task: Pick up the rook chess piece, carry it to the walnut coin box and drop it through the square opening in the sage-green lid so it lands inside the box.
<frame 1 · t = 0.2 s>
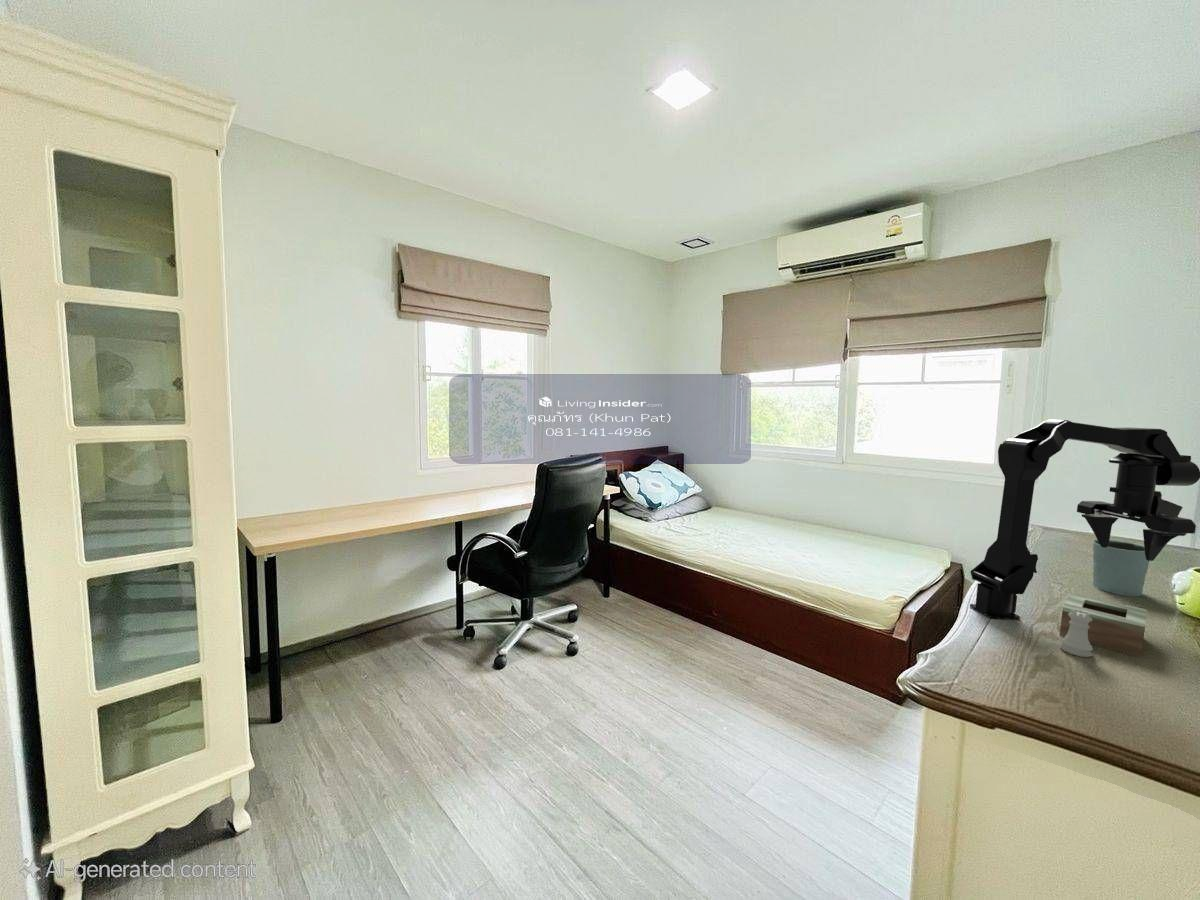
hand: (1125, 553, 104), 14 cm above the table, fingers open, 9 cm apart
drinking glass: (1115, 590, 120), on the table
rook chess piece: (1075, 653, 89), on the table
coin box: (1100, 636, 95), on the table
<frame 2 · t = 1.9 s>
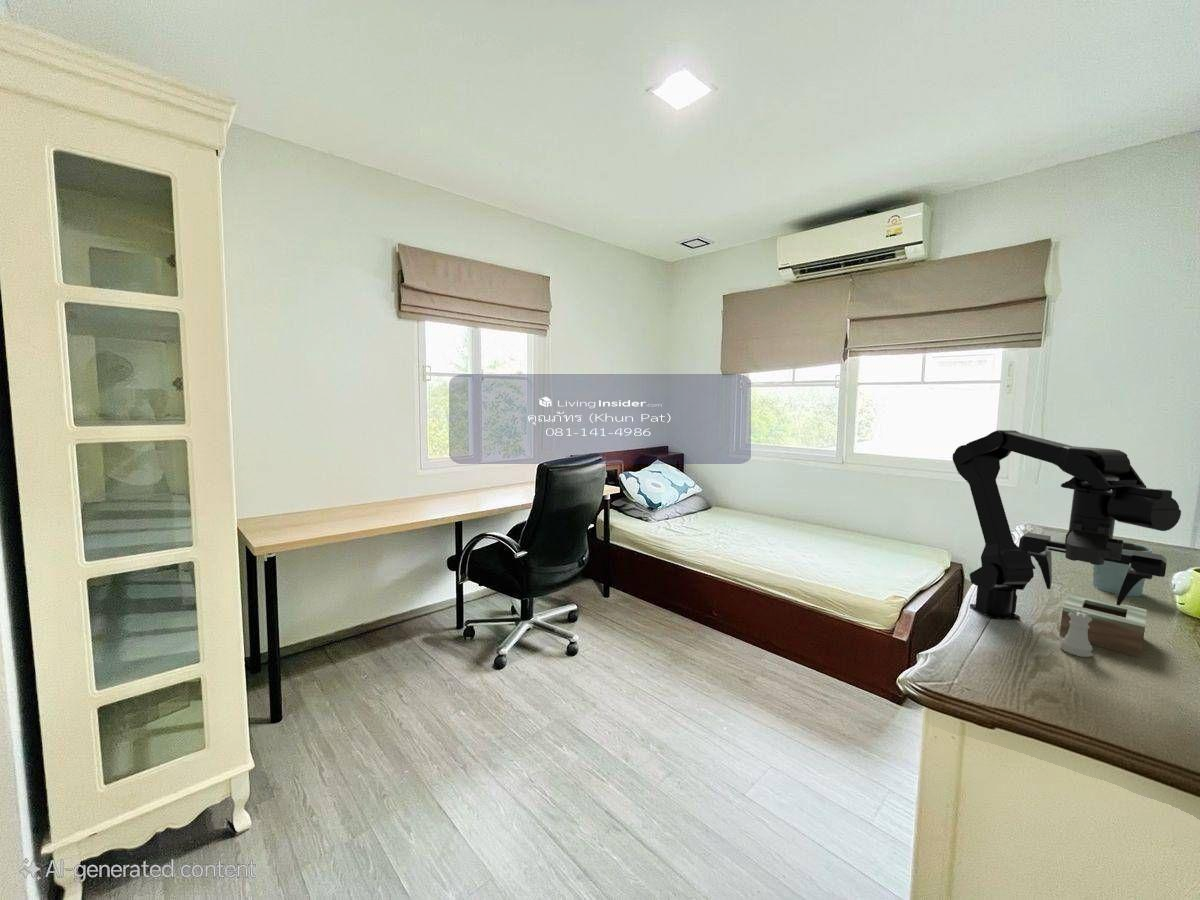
hand: (1082, 596, 88), 11 cm above the table, fingers open, 9 cm apart
nothing on the table moved.
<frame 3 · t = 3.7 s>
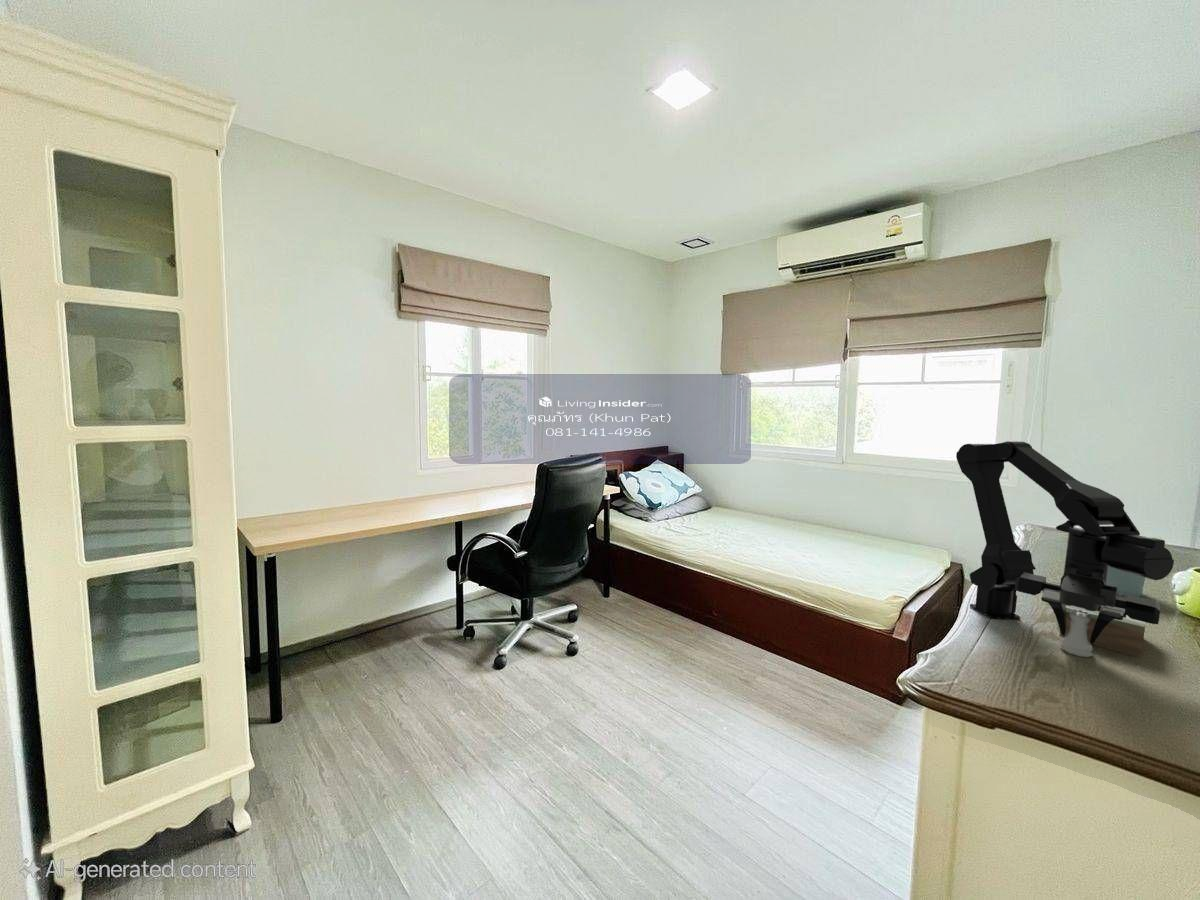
hand: (1077, 638, 89), 3 cm above the table, fingers closed on rook chess piece, 3 cm apart
rook chess piece: (1075, 652, 89), on the table, touching gripper
everything else where it was.
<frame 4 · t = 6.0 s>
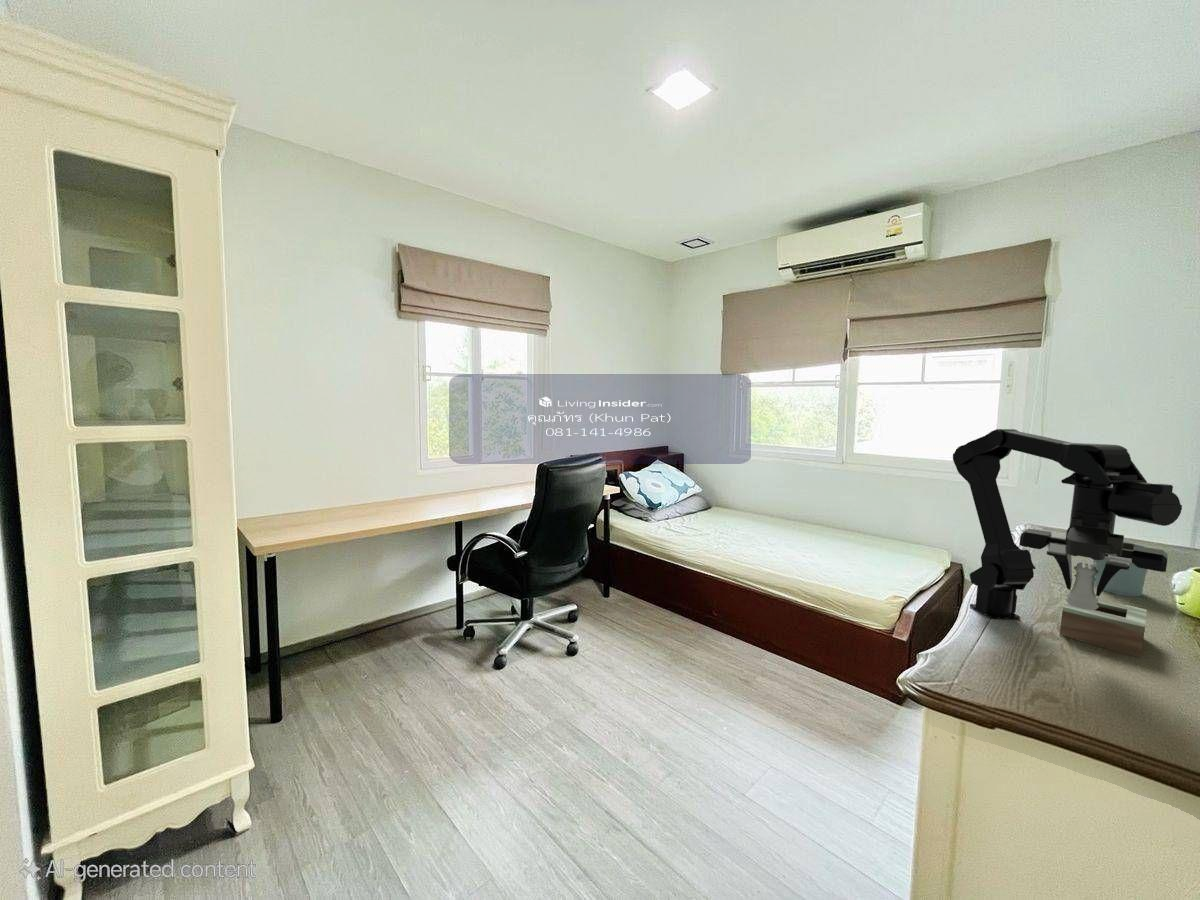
hand: (1083, 592, 88), 12 cm above the table, fingers closed on rook chess piece, 3 cm apart
rook chess piece: (1081, 606, 88), point 9 cm above the table, touching gripper
everything else where it was.
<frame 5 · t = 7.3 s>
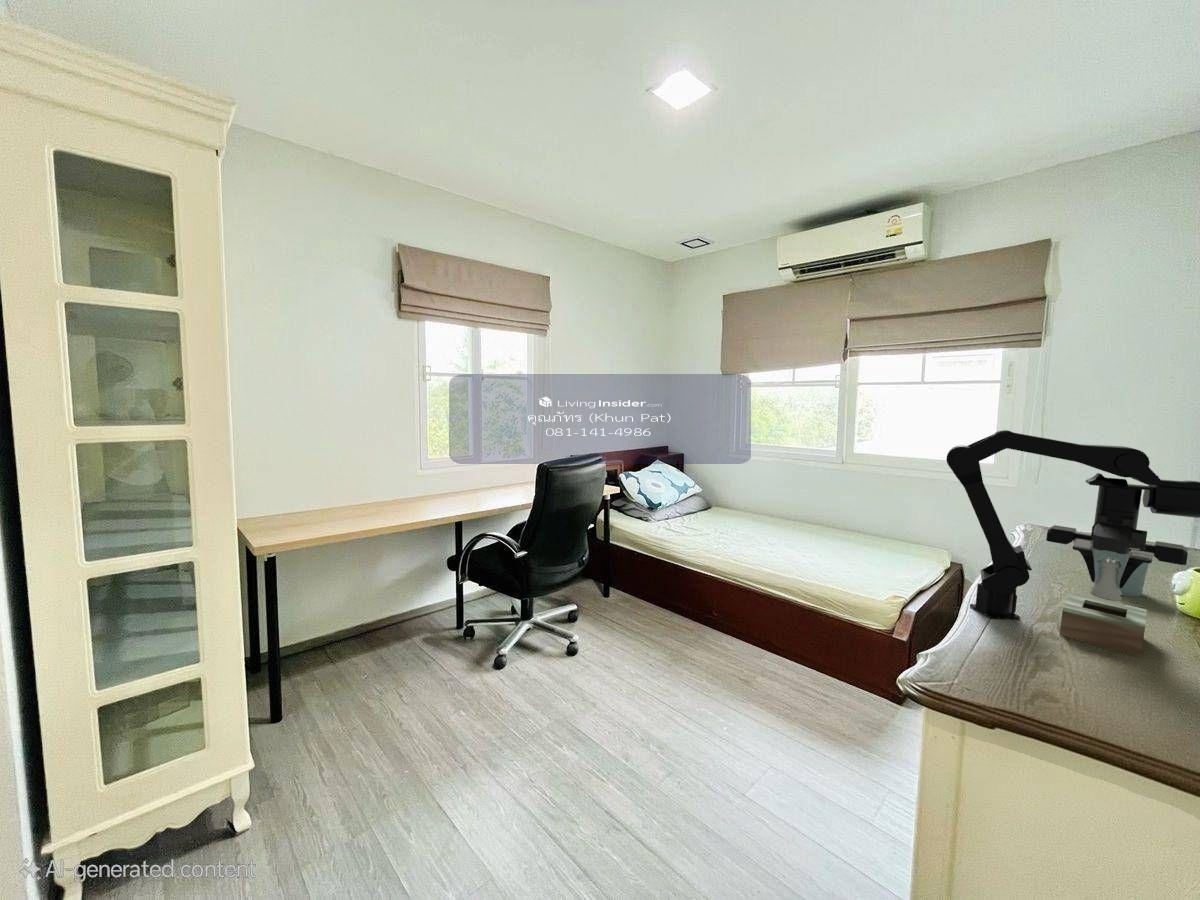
hand: (1106, 584, 94), 11 cm above the table, fingers closed on rook chess piece, 3 cm apart
rook chess piece: (1104, 597, 95), point 8 cm above the table, touching gripper
everything else where it was.
when the fingers open (10 cm above the table, at t = 8.4 s): rook chess piece drops 7 cm, resting in coin box.
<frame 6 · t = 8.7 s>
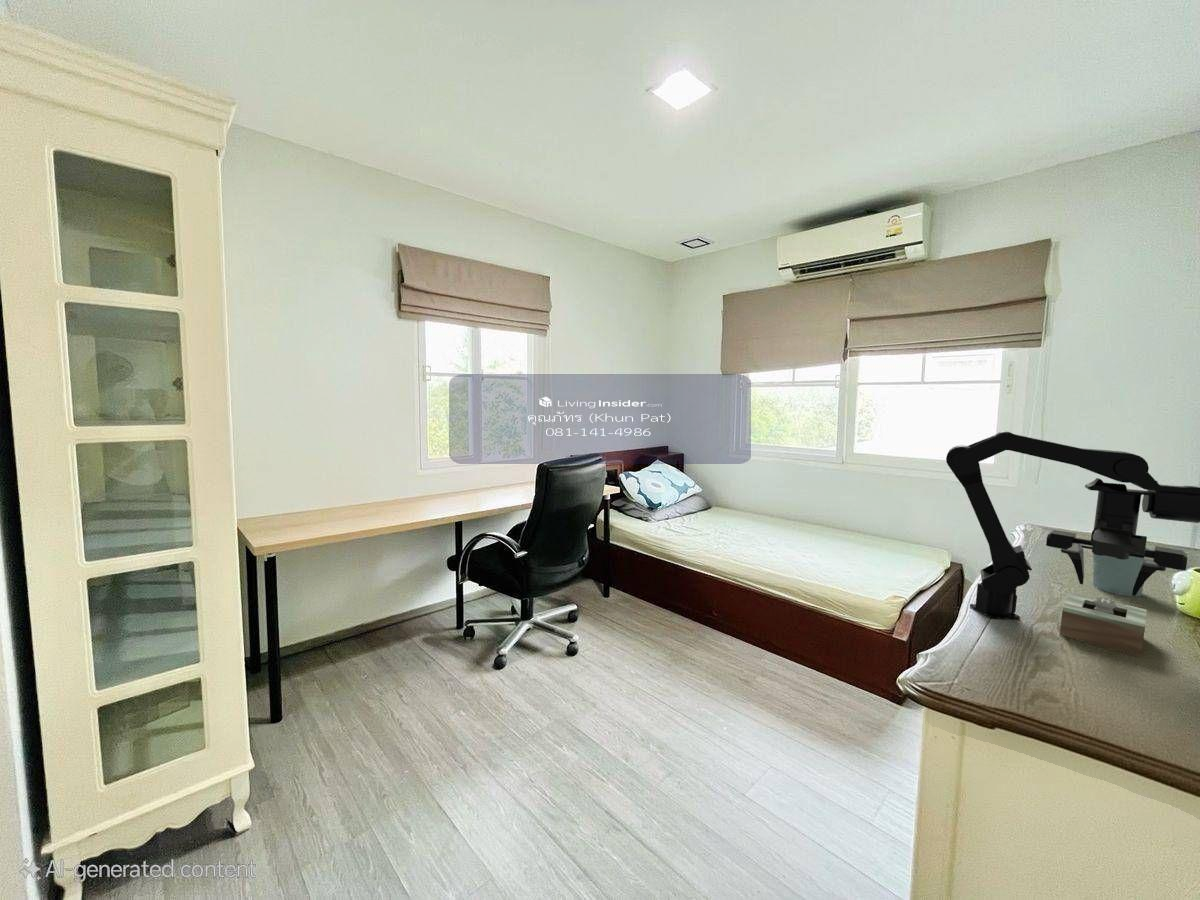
hand: (1106, 589, 94), 10 cm above the table, fingers open, 7 cm apart
rook chess piece: (1100, 637, 96), resting in coin box
everything else where it was.
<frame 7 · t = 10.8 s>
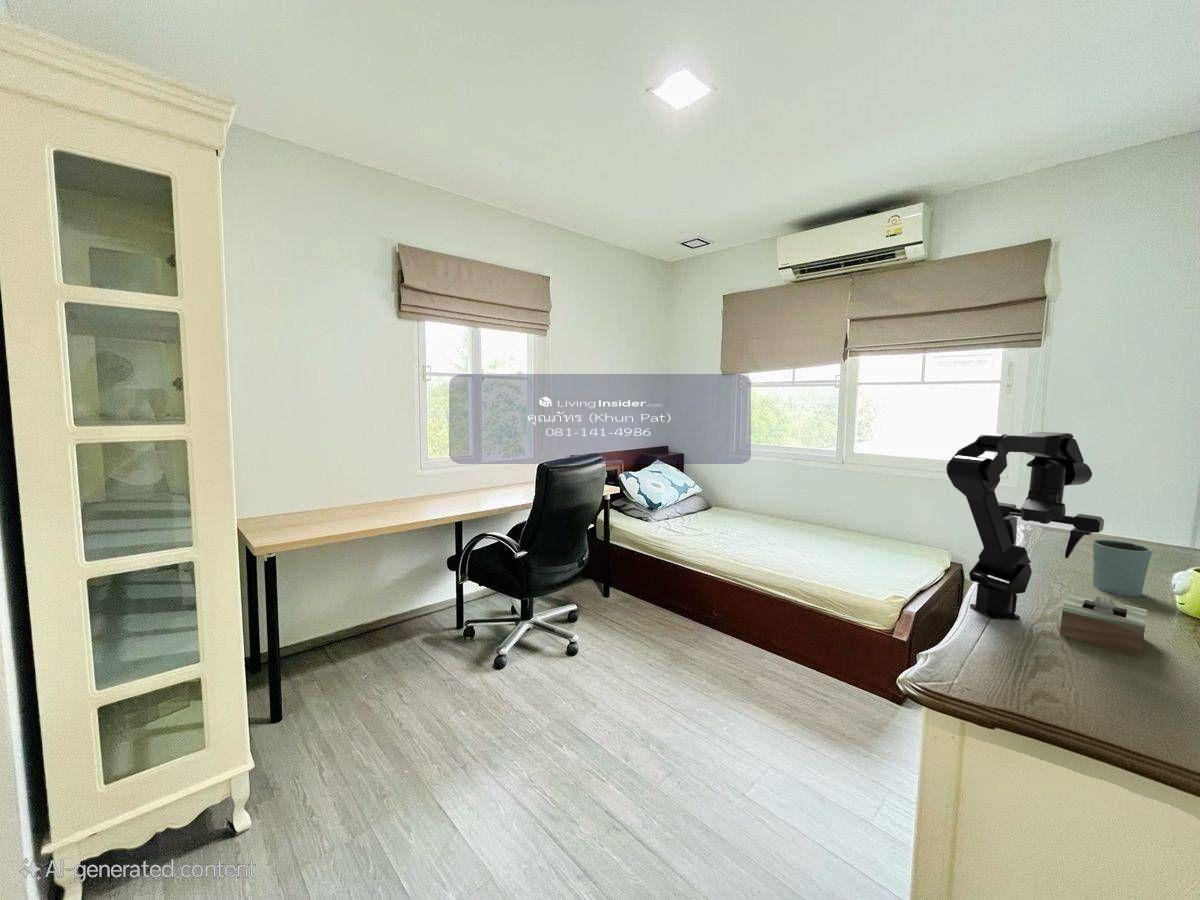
hand: (1039, 552, 108), 13 cm above the table, fingers open, 9 cm apart
nothing on the table moved.
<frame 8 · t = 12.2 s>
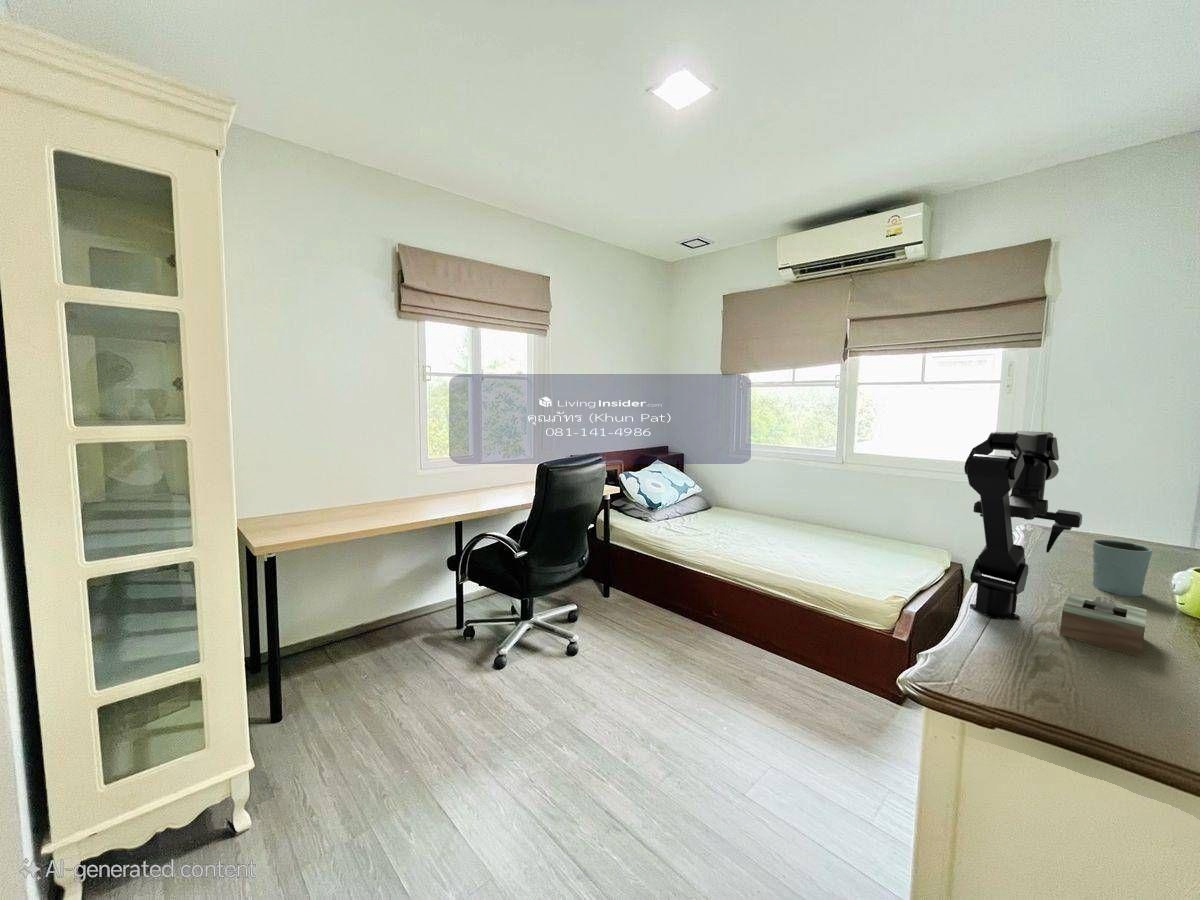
hand: (1021, 547, 112), 13 cm above the table, fingers open, 9 cm apart
nothing on the table moved.
at the end: rook chess piece 0.1 cm off-centre on the coin box, point 0.0 cm above the coin box's base; the gripper is holding nothing; rook chess piece tilted 0° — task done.
